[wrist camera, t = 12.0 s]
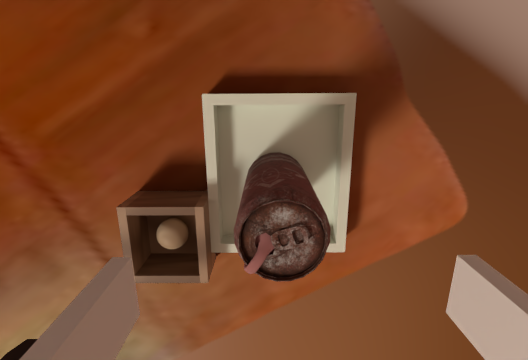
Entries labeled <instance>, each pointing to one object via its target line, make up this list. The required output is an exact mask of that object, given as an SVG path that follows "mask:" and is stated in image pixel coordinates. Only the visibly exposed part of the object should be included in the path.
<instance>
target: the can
mask: <svg viewBox="0 0 528 360" xmlns="http://www.w3.org/2000/svg"><path fill="white" fill-rule="evenodd" d="M330 231H331V227H330V224H329V221H328V218H327V215H326V213H325V211H324V209H323V207H322V205H321V203H320V201H319V199H318V197H317V195H316V193H315V191H314V189H313V187H312V185H311V183H310V181H309V179H308V177H307V175H306V174H305V172H304V170H303V168H302V166H301V165H300V164H299V162H298V161H297V160H296V159H294V158H293V157H291V156H290V155H287V154H284V153H281V152H276V153H268V154H265V155H262V156H261V157H259V158H258V159H257V160H255V161H254V162H253V164H252V165H251V167H250V168H249V170H248V173H247V177H246V181H245V185H244V189H243V193H242V197H241V202H240V206H239V210H238V214H237V218H236V222H235V227H234V243H235V246H236V248H237V251H238V253H239V256H240V257H241V258H242V259H243V261H244V262H245V264H244V270H245V271H246V272H247V273H249V274H253V273H256V274H258V275H259V276H261V277H263V278H265V279H269V280H273V281H292V280H296V279H299V278H302V277H304V276H306V275H307V274H309V273H310V272H312V271H313V270H315V269H316V267H317V266H318V265H319V264H320V263H321V261H322V260H323V258H324V255H325V253H326V251H327V248H328V246H329V243H330Z"/></svg>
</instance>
